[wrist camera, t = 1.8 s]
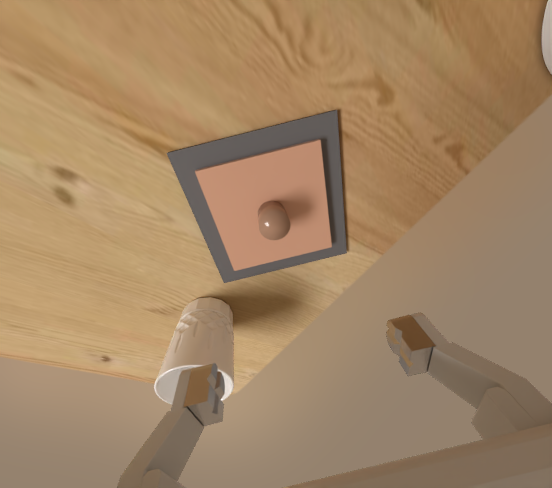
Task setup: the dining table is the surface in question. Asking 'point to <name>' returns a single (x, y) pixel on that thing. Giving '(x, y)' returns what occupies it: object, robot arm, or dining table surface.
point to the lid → (269, 204)
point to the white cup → (199, 345)
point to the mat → (255, 144)
